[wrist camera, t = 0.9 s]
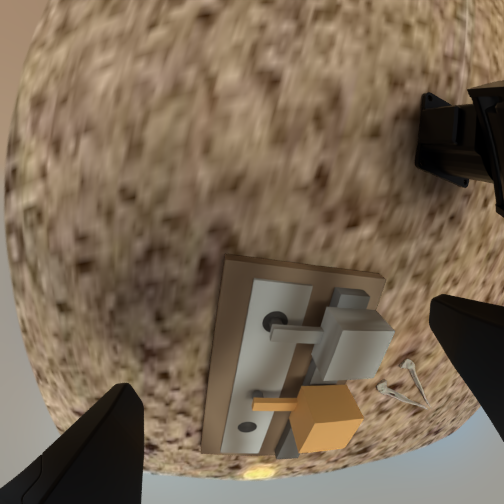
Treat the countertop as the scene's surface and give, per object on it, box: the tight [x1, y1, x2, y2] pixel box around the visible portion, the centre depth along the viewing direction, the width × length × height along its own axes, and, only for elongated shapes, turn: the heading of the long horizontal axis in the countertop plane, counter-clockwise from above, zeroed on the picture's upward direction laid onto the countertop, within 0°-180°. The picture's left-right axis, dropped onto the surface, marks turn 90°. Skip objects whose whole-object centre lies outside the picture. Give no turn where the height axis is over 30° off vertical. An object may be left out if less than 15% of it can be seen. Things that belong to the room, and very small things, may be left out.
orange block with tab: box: [251, 385, 364, 453], centre depth 20 cm, size 8×4×5 cm, turn 80°
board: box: [201, 254, 395, 459], centre depth 21 cm, size 12×22×5 cm, turn 170°
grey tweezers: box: [377, 359, 432, 410], centre depth 28 cm, size 17×5×2 cm, turn 45°
